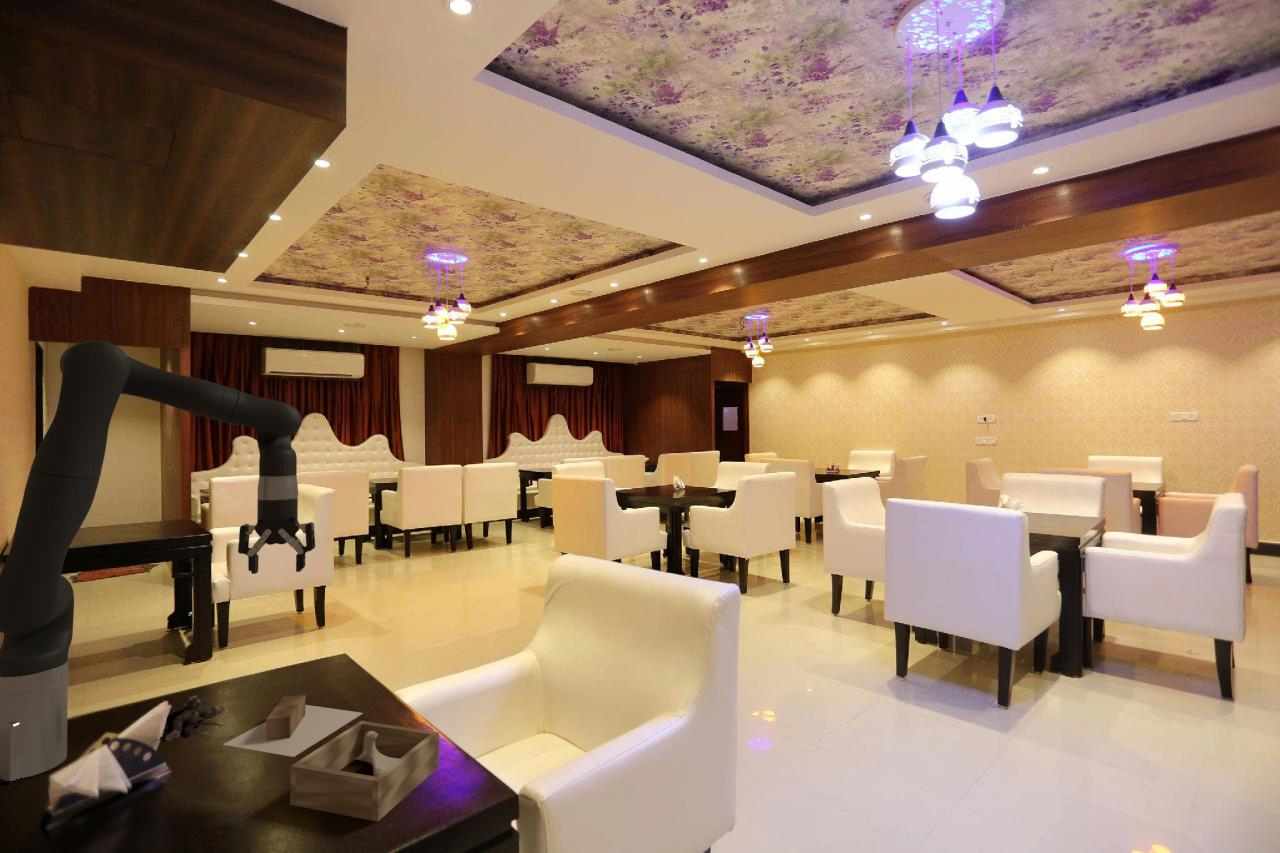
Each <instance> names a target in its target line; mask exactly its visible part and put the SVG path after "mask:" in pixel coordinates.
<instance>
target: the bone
mask: <svg viewBox="0 0 1280 853" xmlns="http://www.w3.org/2000/svg"><path fill="white" fill-rule="evenodd" d="M377 736H378V733H376V732H374V731H369V732H367V733H366V735H365V737H364V748H363V752H362V753H361V755H360V756H359V757H357V758H356V759H355V760H356V761H363V762H367V763H369V764H371V765H372V772H373V775H372V776H374V777H377V776H379V775H380V774H381V773H382V772H384V771H385V770H386V769H387V768H389V767H390V766H391V765H393V764H394V763H395V762H396V761H398V760H399V758H390V757H387V756H384V755H382V754H381V753H379V752H378V751H377V749H376V747H375V740H376V738H377Z"/></svg>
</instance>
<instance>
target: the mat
mask: <svg viewBox="0 0 1280 853" xmlns="http://www.w3.org/2000/svg"><path fill="white" fill-rule="evenodd" d="M361 715H364V713H363V712H359V711H354V710H353V711H352V710H345V709H338V708H330V707H323V706H318V705H315V706H314V705H309V704H305V716H304V717H303V719H302V720H301V722H300V723H299V725H298V726H297V728H296V729H295V731H294V732H293V734H292V735H291V737H290V738H285V739H274V740H266V721H264V722H263V723H260V724H259V725H257V726H254V727H253V728H251V729H250V730H247V731H246V732H243V733H242V734H240V735H238V736H236V737H234V738H232V739H230V740H229V741H227V742H225V743H222V746H228V747H233V748H238V749H243V750H250V751H256V752H262V753H267V754H273V755H278V756H279V755H280V756H285V757H290V758H291V757H292V758H295V757H297V755H299V754H301V753H303V752H304V751H306V750H307V749H309V748H310V747H312V746H313V745H315V744H317V743H319V742H320V741H322V740H323V739H325V738H326V737H328V736H330V735H331V734H333V733H334V732H336V731H338V730H340V728H342V727H344V726H345V725H347V724H349V723H350V722H352V721H354V720H355V719H356V718H358V717H360V716H361Z"/></svg>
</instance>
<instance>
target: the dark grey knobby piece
mask: <svg viewBox="0 0 1280 853" xmlns="http://www.w3.org/2000/svg"><path fill="white" fill-rule="evenodd" d="M226 708H227V707H226V705H225V704H218V705H216V706H212V707H210V708H208V707H206V706H204V705H202V700H201V699H200V697H199V696H198V695H194V696H190V697H189V698H188V699H186V700H185V702H184V704H183V705H182V708H180V709H176V711H172V712H169V713H168V714H169V715H168V714H167V715H168V717H167V722H166V725H165V729H164V733H163V737H162V738H164V741H165V742H170V741H174V740H176V739H177V740H178V739H179V738H180V737H181V736H182V735H184V736H185V737H186V738H189V737H190V736H191V735H194V736H198V735H199V737H204V736H207V735H208V732H207V731H206V732H205V731H204V732H203V733H200V732H198V731H195V729H196V730H197V729H198V727H199V726H200V725H202V726H211V725H215V726H219V727H224V726H227V725H229V723H228V722H226V723H223V724H222V723H221V724H220V723H217V722H216V721H207V722H204V720H202V721H201V722H199V723H198V719H199V718H202V719H207V718H208V717H209V718H212V717H213V718H214V717H216V716H218V715H220V714H221V713H223V712H224V711H225V710H226Z"/></svg>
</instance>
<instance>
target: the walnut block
mask: <svg viewBox="0 0 1280 853" xmlns="http://www.w3.org/2000/svg"><path fill="white" fill-rule="evenodd" d="M306 698H307V697H306V694H302V695H288V696H283V697H282V698H281V700H280V701H279V702H278V703H277V705H276V707H274V708H273V710H272V711H271V713H270V714H269V715H268V716H267V717H266V719H265V720H266V721H265V722H266V740H274V739H285V738H290V737H291V735H292V734H293V732H294V731H295V729H296V728H297V726H298V725H299V723H300V722H301V720H302V719H303V717H304V716H305V705H306V700H307V699H306Z"/></svg>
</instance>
